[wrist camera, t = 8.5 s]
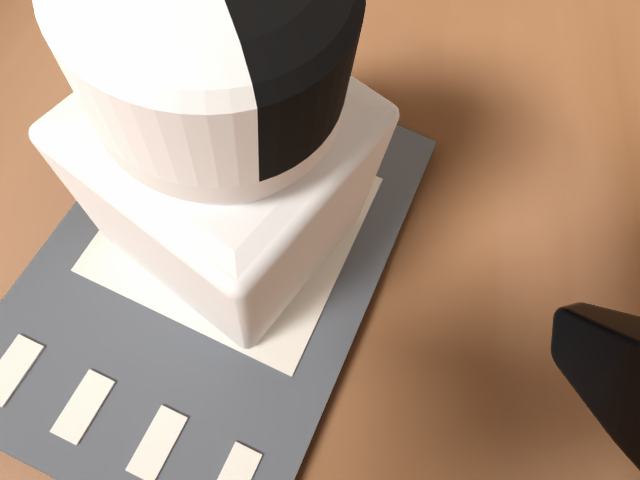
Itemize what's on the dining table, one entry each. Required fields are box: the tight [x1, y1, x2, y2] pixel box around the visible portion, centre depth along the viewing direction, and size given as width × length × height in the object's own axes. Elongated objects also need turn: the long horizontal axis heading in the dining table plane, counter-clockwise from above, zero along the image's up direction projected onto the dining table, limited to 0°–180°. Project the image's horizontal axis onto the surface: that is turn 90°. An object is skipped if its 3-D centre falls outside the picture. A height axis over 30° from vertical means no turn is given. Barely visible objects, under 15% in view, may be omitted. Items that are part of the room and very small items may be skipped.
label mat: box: [0, 124, 437, 480], centre depth 19 cm, size 12×18×1 cm, turn 156°
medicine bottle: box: [29, 0, 400, 349], centre depth 14 cm, size 7×7×12 cm
